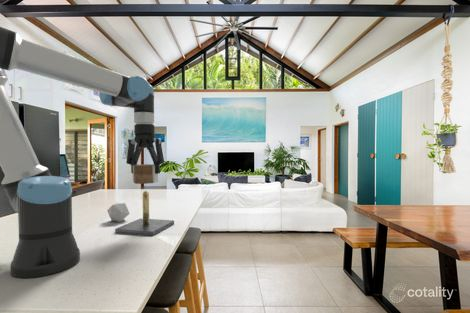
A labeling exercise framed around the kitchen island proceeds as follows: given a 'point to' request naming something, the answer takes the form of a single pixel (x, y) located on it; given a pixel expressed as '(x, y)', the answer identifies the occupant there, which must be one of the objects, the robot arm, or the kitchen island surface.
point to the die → (118, 212)
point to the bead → (143, 174)
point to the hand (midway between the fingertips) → (145, 181)
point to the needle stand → (145, 222)
